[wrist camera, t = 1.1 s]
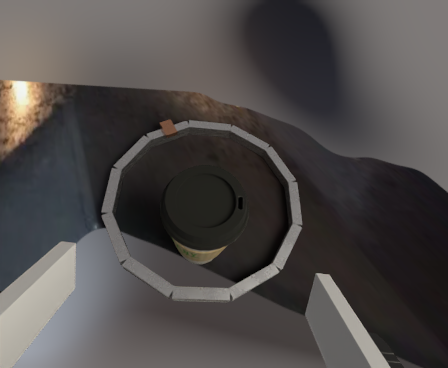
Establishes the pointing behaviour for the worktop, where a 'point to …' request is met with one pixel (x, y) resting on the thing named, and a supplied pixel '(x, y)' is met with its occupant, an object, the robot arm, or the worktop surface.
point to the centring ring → (207, 129)
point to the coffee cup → (204, 211)
